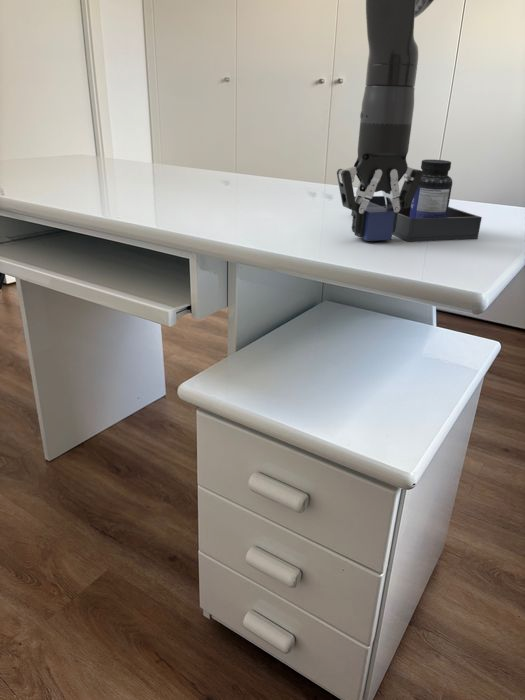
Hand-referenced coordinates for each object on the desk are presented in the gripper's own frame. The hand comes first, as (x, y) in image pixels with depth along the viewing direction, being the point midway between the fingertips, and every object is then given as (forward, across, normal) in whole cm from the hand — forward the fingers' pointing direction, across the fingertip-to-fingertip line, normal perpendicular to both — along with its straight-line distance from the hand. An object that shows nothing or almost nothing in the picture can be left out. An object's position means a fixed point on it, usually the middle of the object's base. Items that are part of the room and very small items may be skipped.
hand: (373, 235), depth 86 cm
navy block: (0, 0, 0) cm, 0 cm away
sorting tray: (+1, +12, +9) cm, 15 cm away
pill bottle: (0, +12, +4) cm, 12 cm away
